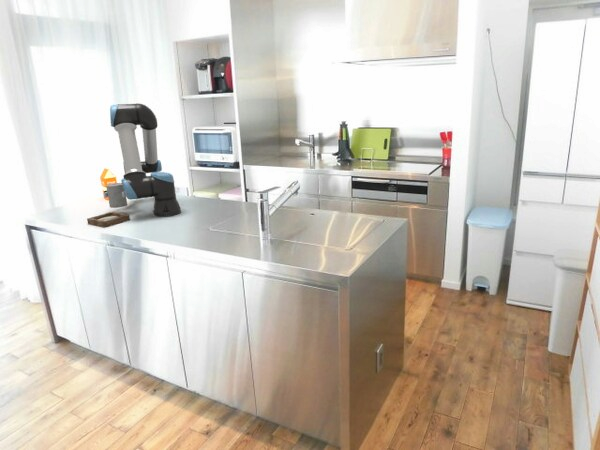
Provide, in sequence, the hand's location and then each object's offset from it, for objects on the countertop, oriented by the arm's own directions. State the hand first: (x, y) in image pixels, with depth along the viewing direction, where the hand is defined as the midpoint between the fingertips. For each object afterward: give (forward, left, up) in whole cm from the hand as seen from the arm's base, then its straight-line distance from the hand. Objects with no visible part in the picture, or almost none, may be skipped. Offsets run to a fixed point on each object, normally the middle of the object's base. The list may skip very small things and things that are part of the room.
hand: (113, 195), depth 232 cm
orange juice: (+44, -27, -12) cm, 53 cm away
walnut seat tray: (-7, +9, -12) cm, 17 cm away
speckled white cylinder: (+2, -4, -7) cm, 9 cm away
